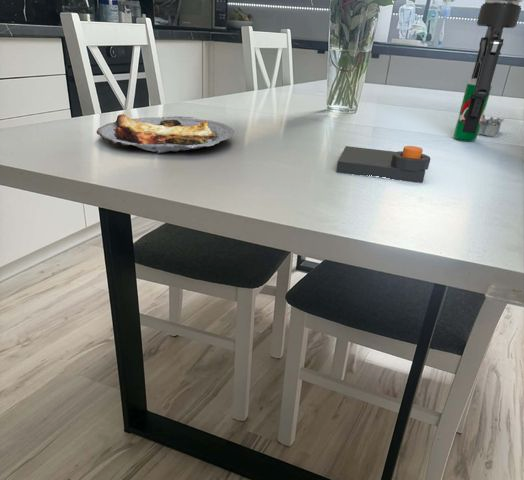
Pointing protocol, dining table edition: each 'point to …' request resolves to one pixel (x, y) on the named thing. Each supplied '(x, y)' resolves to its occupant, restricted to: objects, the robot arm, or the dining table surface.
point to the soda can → (463, 112)
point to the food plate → (165, 133)
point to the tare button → (412, 152)
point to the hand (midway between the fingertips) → (467, 129)
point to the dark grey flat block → (382, 164)
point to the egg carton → (490, 126)
